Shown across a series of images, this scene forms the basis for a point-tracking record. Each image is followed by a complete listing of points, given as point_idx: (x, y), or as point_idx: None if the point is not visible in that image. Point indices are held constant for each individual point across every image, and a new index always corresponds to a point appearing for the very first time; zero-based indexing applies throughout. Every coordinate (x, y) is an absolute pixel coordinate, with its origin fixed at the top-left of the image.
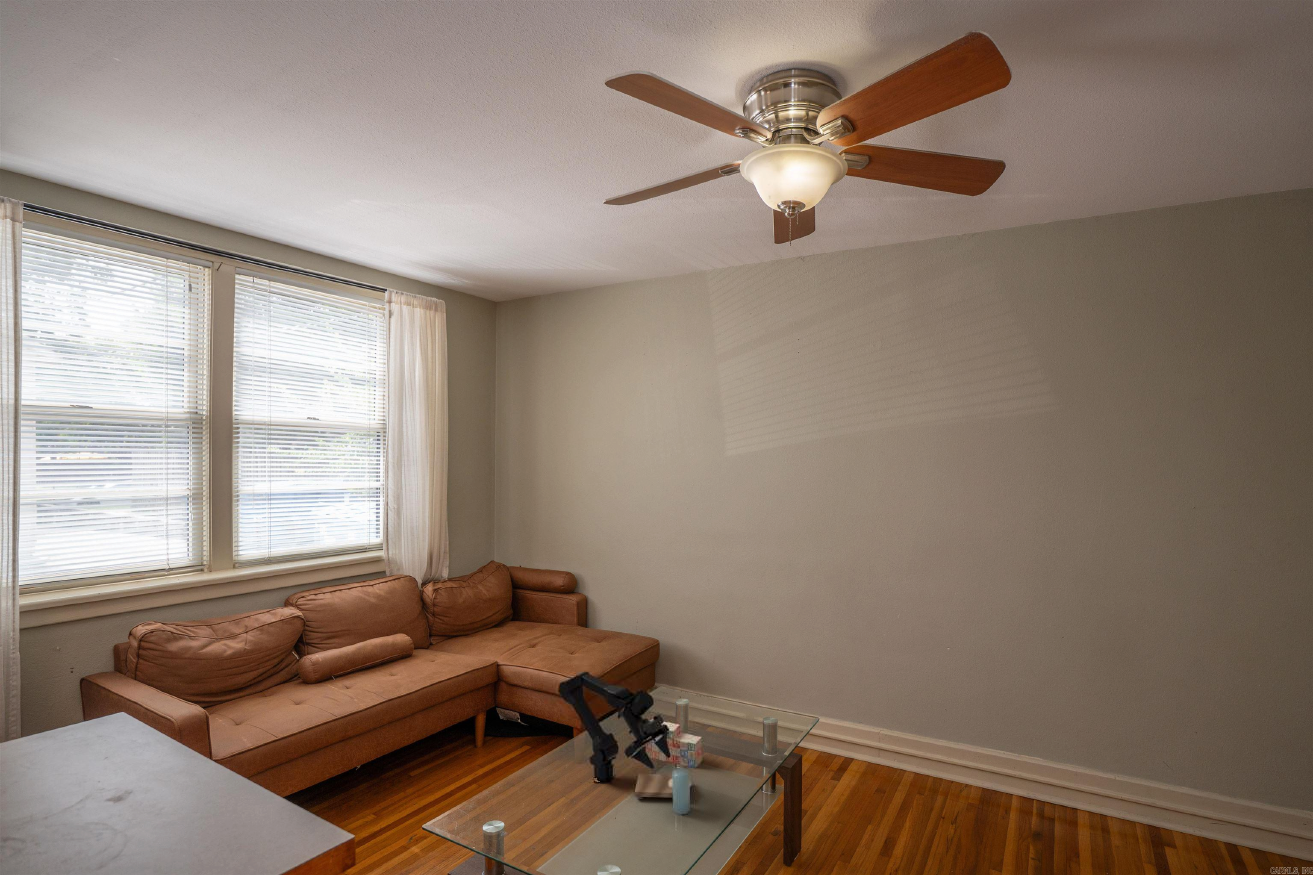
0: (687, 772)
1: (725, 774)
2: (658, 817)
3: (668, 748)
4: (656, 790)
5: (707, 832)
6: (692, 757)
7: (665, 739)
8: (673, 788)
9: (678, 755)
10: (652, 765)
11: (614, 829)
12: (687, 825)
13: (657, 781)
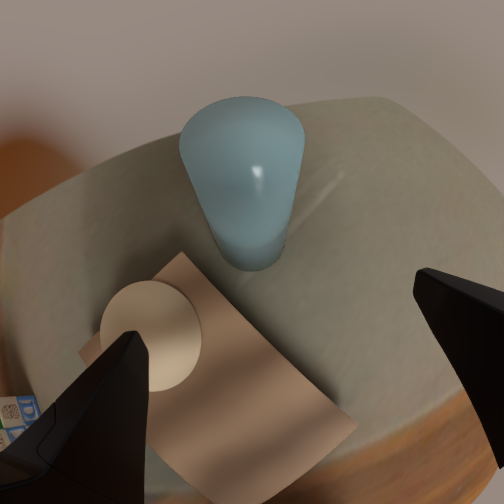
0: (206, 116)
1: (13, 294)
2: (350, 260)
3: (76, 382)
4: (274, 373)
5: None
6: (13, 407)
7: (7, 464)
8: (293, 200)
9: None
10: (441, 272)
11: None
12: None
13: (211, 430)
